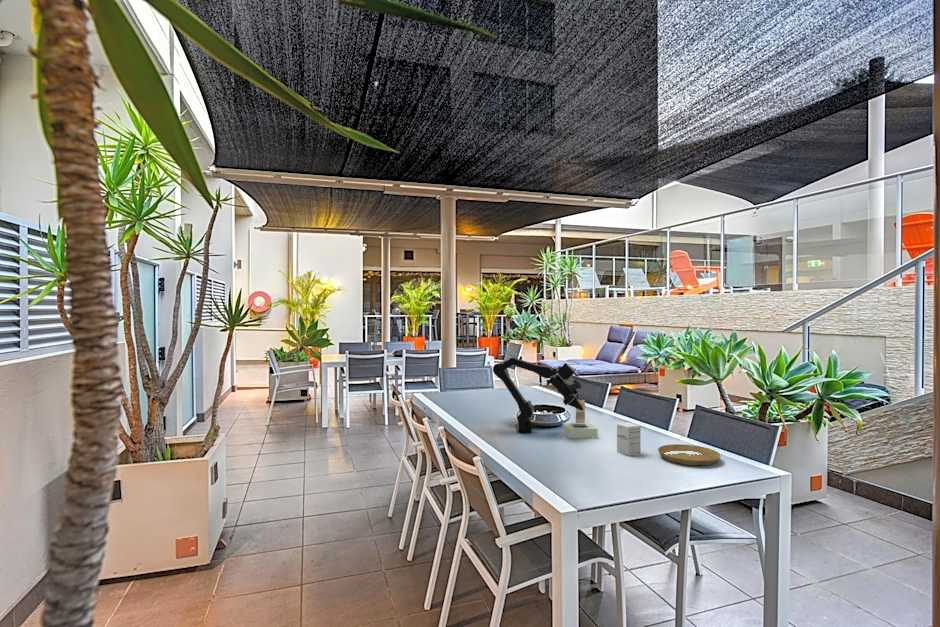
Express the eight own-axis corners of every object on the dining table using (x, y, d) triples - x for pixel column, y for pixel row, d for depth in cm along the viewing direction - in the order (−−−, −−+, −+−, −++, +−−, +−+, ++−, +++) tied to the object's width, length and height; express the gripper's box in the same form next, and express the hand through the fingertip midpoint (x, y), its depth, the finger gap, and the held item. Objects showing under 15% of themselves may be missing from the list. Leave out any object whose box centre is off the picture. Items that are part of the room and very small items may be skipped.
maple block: (584, 423, 242) (584, 401, 242) (575, 422, 243) (575, 400, 243) (584, 421, 245) (584, 399, 245) (576, 420, 247) (576, 399, 247)
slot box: (569, 438, 239) (569, 429, 239) (562, 431, 253) (562, 422, 253) (597, 437, 240) (597, 428, 240) (589, 430, 254) (589, 422, 254)
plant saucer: (656, 449, 221) (656, 441, 221) (715, 453, 214) (715, 446, 214) (659, 465, 198) (659, 457, 198) (725, 471, 191) (725, 462, 191)
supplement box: (616, 451, 217) (616, 423, 217) (629, 449, 220) (629, 421, 220) (628, 456, 210) (628, 427, 210) (641, 453, 213) (641, 425, 213)
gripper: (570, 377, 236) (593, 401, 233) (574, 372, 254) (596, 395, 251) (553, 393, 239) (576, 417, 236) (559, 387, 257) (580, 409, 253)
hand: (583, 409), depth 244 cm, fingers closed on maple block, 4 cm apart
